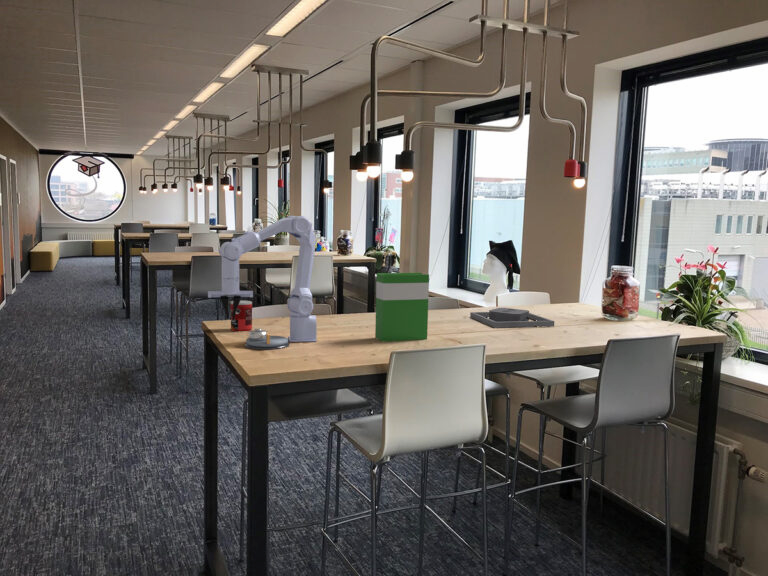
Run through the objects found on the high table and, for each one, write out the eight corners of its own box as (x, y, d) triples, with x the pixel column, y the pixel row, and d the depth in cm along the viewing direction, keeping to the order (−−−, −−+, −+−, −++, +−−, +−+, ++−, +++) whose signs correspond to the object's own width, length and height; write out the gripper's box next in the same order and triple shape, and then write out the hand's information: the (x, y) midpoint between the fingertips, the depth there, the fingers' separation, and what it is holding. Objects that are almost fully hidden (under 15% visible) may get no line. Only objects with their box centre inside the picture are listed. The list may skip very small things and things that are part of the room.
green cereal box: (419, 335, 236) (420, 272, 234) (427, 339, 229) (429, 274, 227) (375, 337, 230) (376, 273, 227) (382, 341, 223) (383, 275, 221)
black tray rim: (524, 316, 289) (525, 311, 289) (554, 326, 263) (554, 321, 263) (470, 317, 282) (470, 312, 282) (494, 328, 256) (494, 322, 256)
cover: (266, 337, 215) (266, 327, 215) (267, 341, 210) (267, 330, 209) (248, 338, 214) (248, 327, 214) (249, 341, 208) (249, 331, 208)
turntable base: (287, 340, 222) (287, 338, 222) (291, 349, 207) (291, 347, 207) (244, 341, 218) (244, 340, 218) (245, 350, 204) (245, 348, 204)
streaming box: (500, 318, 283) (500, 307, 282) (530, 322, 275) (531, 310, 274) (486, 322, 271) (486, 310, 270) (517, 326, 263) (518, 314, 262)
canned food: (229, 328, 241) (229, 300, 240) (249, 327, 244) (249, 300, 243) (232, 332, 234) (232, 303, 233) (253, 331, 237) (253, 302, 236)
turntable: (245, 339, 218) (245, 327, 217) (286, 338, 221) (286, 326, 221) (246, 348, 203) (246, 335, 203) (289, 347, 207) (290, 334, 206)
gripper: (207, 279, 202) (207, 320, 203) (253, 279, 205) (253, 320, 207) (208, 277, 208) (208, 317, 210) (252, 277, 212) (252, 316, 213)
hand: (230, 318), depth 209 cm, fingers closed
